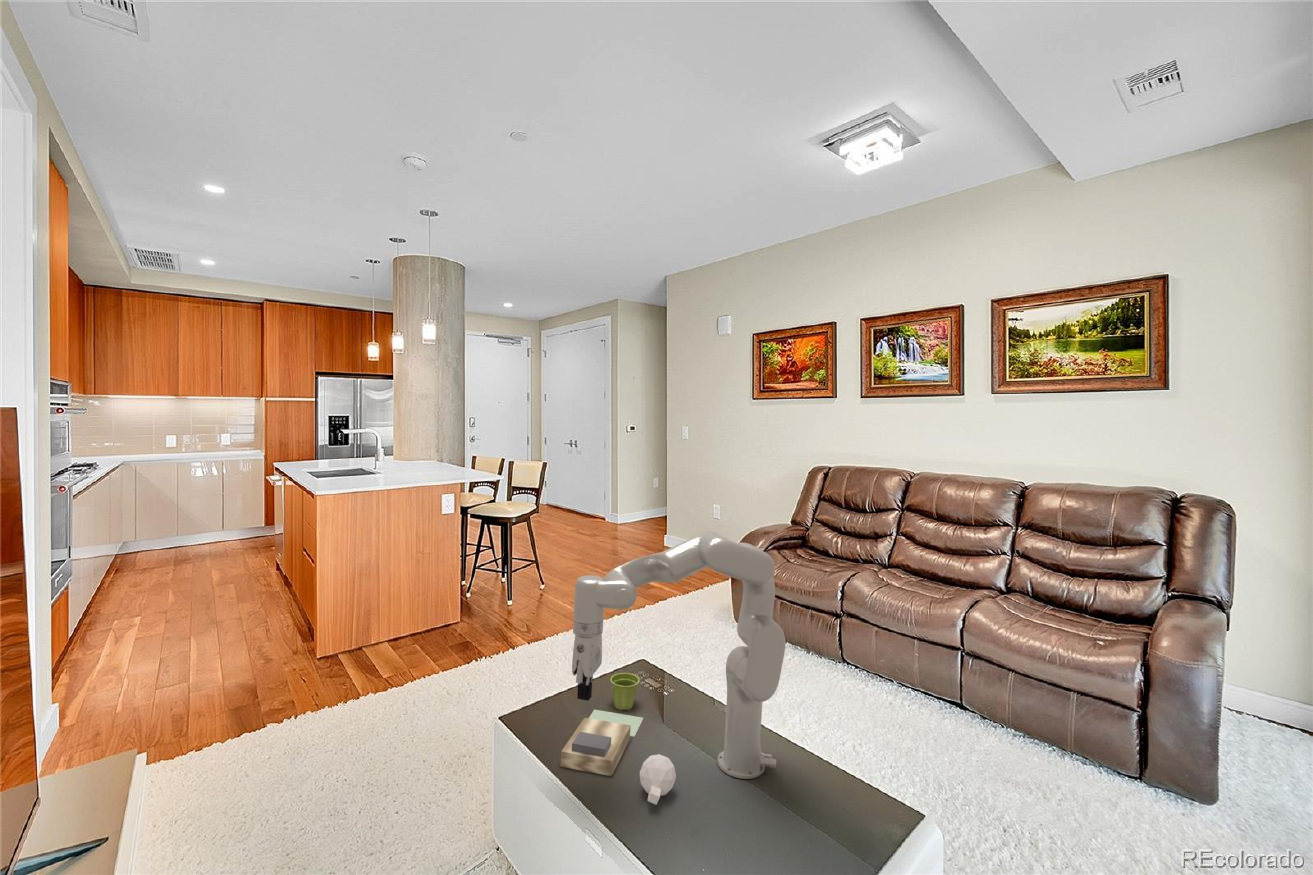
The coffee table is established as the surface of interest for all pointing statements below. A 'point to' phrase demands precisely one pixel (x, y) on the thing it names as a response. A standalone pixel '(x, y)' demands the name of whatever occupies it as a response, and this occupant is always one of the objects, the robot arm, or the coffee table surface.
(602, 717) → the mat
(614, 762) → the light wood flat block
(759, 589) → the robot arm
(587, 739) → the grey rectangular block
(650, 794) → the perfume bottle
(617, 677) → the plant pot
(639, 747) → the coffee table surface
